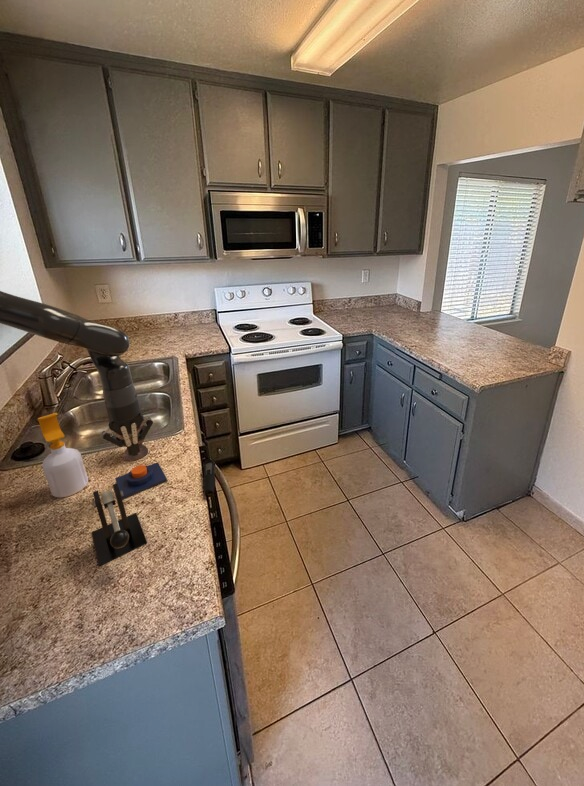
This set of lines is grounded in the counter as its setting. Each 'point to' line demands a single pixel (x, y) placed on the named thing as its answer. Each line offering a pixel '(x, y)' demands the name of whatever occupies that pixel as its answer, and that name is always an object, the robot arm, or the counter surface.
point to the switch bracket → (104, 534)
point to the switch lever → (114, 522)
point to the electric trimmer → (209, 476)
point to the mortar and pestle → (142, 448)
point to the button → (139, 471)
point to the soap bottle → (61, 461)
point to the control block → (141, 481)
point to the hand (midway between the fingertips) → (134, 454)
